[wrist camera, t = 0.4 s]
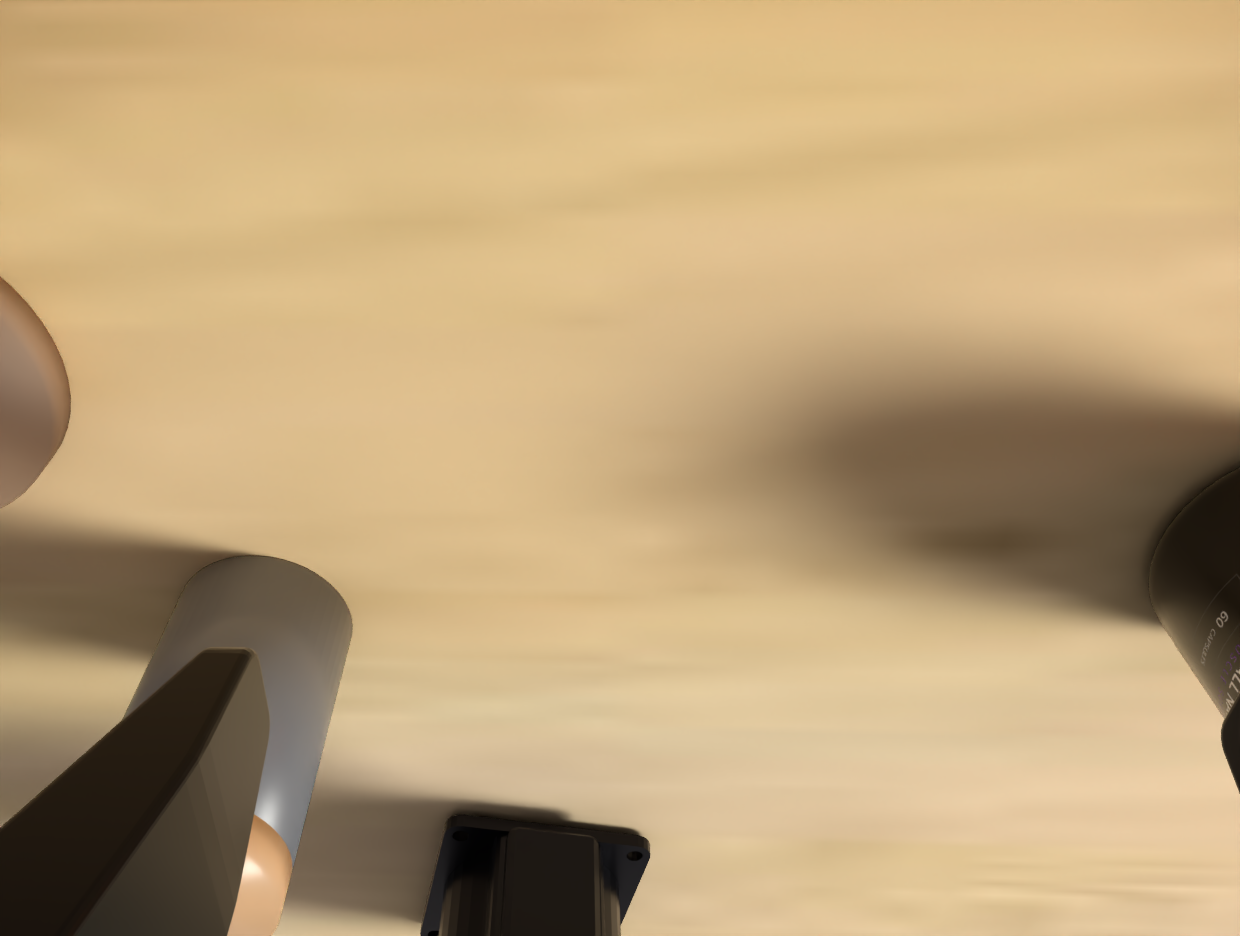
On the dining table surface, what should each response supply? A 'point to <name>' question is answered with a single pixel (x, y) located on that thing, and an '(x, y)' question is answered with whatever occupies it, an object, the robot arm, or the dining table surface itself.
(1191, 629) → the supplement bottle
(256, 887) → the grey capped cylinder
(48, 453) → the door knob
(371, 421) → the dining table surface
